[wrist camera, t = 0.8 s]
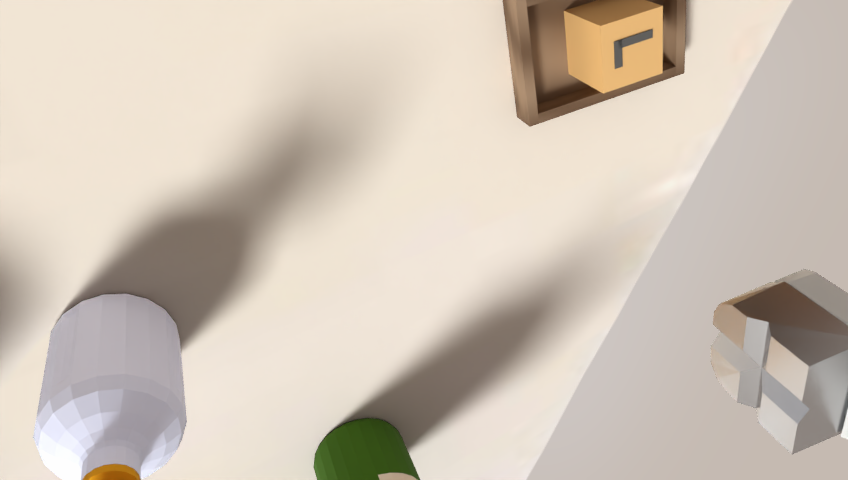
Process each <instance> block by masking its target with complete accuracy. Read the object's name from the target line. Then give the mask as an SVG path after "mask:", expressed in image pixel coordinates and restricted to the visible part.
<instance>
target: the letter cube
mask: <svg viewBox="0 0 848 480" xmlns="http://www.w3.org/2000/svg"><path fill="white" fill-rule="evenodd" d="M564 19H565V33H566V46H567V59H568V72H569V74H570V75H571V76H573V77H575V78H577V79H579V80H580V81H582V82H584V83H586V84H587V85H589V86H591V87H593V88H594V89H596V90H598V91H600V92H602V93H603V94H604V93H606V92H609V91H612V90H615V89H618V88H621V87H624V86H627V85H630V84H633V83H636V82H638V81H641V80H644V79H647V78H650V77H653V76H656V75H659V74H662V73H663V6H662V5H659V4H656V3H653V2H650V1H647V0H596V1H593V2H590V3H587V4H583V5H580V6H577V7H574V8H571V9H568V10H564Z"/></svg>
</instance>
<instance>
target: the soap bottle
mask: <svg viewBox="0 0 848 480" xmlns="http://www.w3.org/2000/svg"><path fill="white" fill-rule="evenodd" d="M186 422H187V420H186V408H185V396H184V384H183V372H182V360H181V348H180V339H179V334H178V329H177V325H176V323H175V322H174V321H173V319H172V318H171V317H170V315H169V314H168V313H167V311H166V310H165V309H163V308H162V307H160V306H159V305H157V304H155V303H154V302H152V301H150V300H149V299H146V298H142V297H138V296H134V295H130V294H103V295H100V296H97V297H94V298H91V299H87V300H84V301H81V302H80V303H79V304H77V305H76V306H74V307H73V308H71V309H70V310H68V311H67V312H66V313H64V314H63V315H62V316H61V318H60V319H59V321H58V322H57V324H56V325H55V326H54V328H53V329H52V331H51V336H50V342H49V348H48V353H47V359H46V365H45V371H44V377H43V383H42V388H41V394H40V400H39V406H38V412H37V418H36V424H35V430H34V437H33V438H34V440H35V443H36V446H37V448H38V451H39V453H40V456H41V458H42V460H43V462H44V465H46V466H47V467H48V468H49V469H50V470H51V471H52V472H53V473H54V474H56V475H57V476H58V477H59V478H62V479H64V480H141V479H143V478H145V477H148V476H149V475H151V474H152V473H154V472H155V471H157V470H158V469H159V468H161V467H162V466H164V465H165V464H166V463H167V462H168V460H169V459H170V458H171V457H172V455H173V454H174V453H175V451H176V450H177V449H178V447H179V444H180V442H181V440H182V437H183V434H184V430H185V426H186Z"/></svg>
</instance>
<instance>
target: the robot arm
mask: <svg viewBox="0 0 848 480" xmlns="http://www.w3.org/2000/svg"><path fill="white" fill-rule="evenodd" d="M713 325H714V326H715V327H716V328H717V329H719V330H720V333H719V334H718V336H717V338H716V339H715V341H714V342H713V344H712V345H711V364H712V367H713V369H714V372H715V375H716V377H717V379H718V380H719V382H720V383H721V385H722V386H723V388H724V389H725V390H726V392H728V394H730V396H732V397H733V399H734V400H735V401H737V402H738V403H741V404H745V405H748V406H751V407H754V408H756V410H757V417H758V422H759V424H760V425H761V426H762V427H764V428H765V429H766V430H767V431H768V432H769V433H770V434H771V435H772V436H773V437H774V438H775V439H776V440H777V441H778V442H779V443H780V444H781V445H783V446H784V447H785V448H786V449H787V450H788V451H789V452H790V453H791V454H794V453H796V452H798V451H801V450H803V449H806V448H808V447H810V446H813V445H815V444H817V443H820V442H822V441H824V440H826V439H829V438H831V437H833V436H836V435H838V434H840V433H842V434H841V437H843V438H845V439H848V293H847V292H845V291H844V290H842V289H840V288H839V287H837V286H836V285H834V284H833V283H831V282H830V281H828V280H827V279H825V278H824V277H822V276H821V275H819V274H817V273H816V272H813V271H810V270H806V269H803V270H801V271H798V272H796V273H793V274H791V275H788V276H786V277H784V278H782V279H779V280H776V281H775V282H770V283H768V284H765V285H763V286H761V287H758V288H756V289H754V290H751V291H749V292H747V293H744V294H742V295H740V296H737V297H735V298H732V299H730V300H728V301H725V302H723V303H721V304H719V305H718V307H717V308H716V310H715V311H714V319H713Z"/></svg>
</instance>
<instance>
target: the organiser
mask: <svg viewBox="0 0 848 480" xmlns="http://www.w3.org/2000/svg"><path fill="white" fill-rule="evenodd" d="M593 1H596V0H503V6H504V14H505V22H506V30H507V38H508V46H509V54H510V63H511V71H512V79H513V87H514V95H515V103H516V111H517V117H518V118H519V119H521V120H522V121H523V122H525V123H526V124H527V125H529V126H533V125H536V124H539V123H542V122H545V121H547V120H550V119H553V118H556V117H559V116H562V115H565V114H568V113H571V112H573V111H576V110H579V109H582V108H585V107H588V106H591V105H594V104H597V103H599V102H602V101H605V100H608V99H611V98H614V97H617V96H620V95H623V94H625V93H628V92H631V91H634V90H637V89H640V88H643V87H646V86H649V85H651V84H654V83H657V82H660V81H663V80H666V79H669V78H672V77H675V76H677V75H680V74H683V73H684V63H685V21H686V0H647V1H650V2H653V3H656V4H659V5H662V6H663V73H662V74H659V75H656V76H653V77H650V78H647V79H644V80H641V81H638V82H636V83H633V84H630V85H627V86H624V87H621V88H618V89H615V90H612V91H609V92H606V93H604V94H603V93H602V92H600V91H598V90H596V89H594V88H593V87H591V86H589V85H587V84H586V83H584V82H582V81H580V80H579V79H577V78H575V77H573V76H571V75H570V74H569V72H568V59H567V46H566V33H565V19H564V10H568V9H571V8H574V7H577V6H580V5H583V4H587V3H590V2H593Z"/></svg>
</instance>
